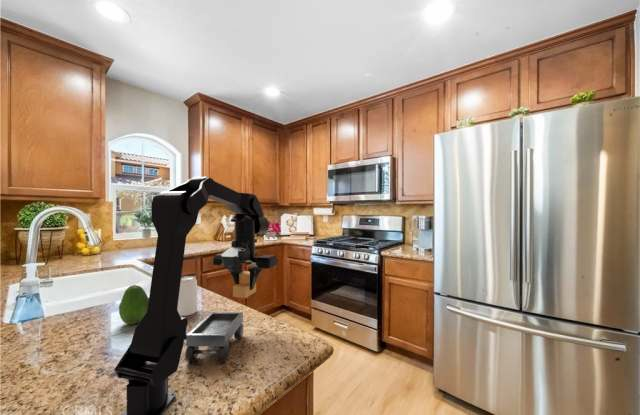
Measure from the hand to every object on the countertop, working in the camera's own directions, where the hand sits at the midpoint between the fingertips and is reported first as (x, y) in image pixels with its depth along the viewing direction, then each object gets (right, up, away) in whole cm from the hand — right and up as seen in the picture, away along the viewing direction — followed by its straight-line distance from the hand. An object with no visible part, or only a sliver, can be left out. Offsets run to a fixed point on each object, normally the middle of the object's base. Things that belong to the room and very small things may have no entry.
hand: (245, 288), depth 77 cm
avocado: (-36, -12, +4) cm, 38 cm away
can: (-24, -12, +12) cm, 29 cm away
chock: (0, -2, 0) cm, 2 cm away
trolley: (-4, -12, -11) cm, 16 cm away
